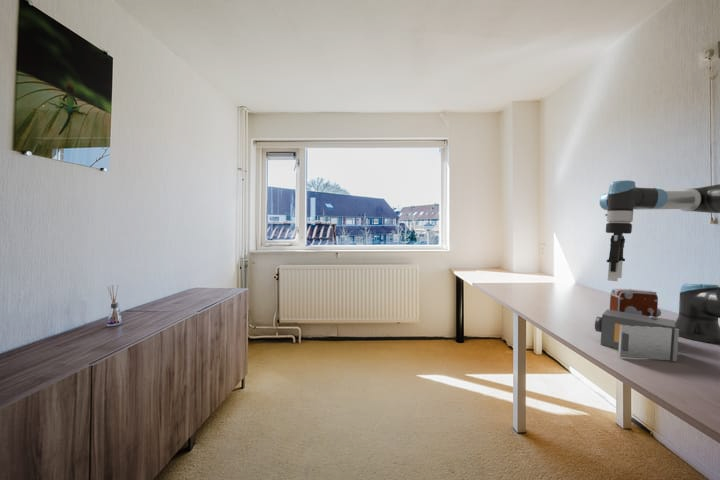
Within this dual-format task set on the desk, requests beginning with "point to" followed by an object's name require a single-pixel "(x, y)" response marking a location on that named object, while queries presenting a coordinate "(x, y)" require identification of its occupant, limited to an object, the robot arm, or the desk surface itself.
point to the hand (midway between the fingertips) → (614, 279)
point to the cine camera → (635, 302)
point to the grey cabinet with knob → (614, 319)
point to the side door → (645, 342)
